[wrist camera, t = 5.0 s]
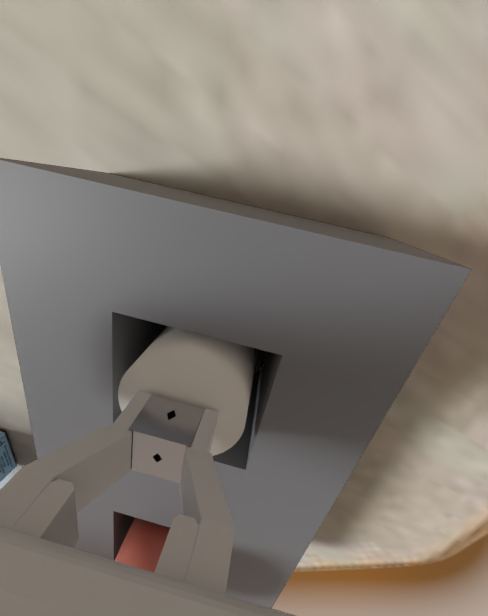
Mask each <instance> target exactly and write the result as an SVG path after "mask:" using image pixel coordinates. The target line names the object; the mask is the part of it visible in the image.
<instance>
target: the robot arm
mask: <svg viewBox="0 0 488 616" xmlns="http://www.w3.org/2000/svg"><path fill="white" fill-rule="evenodd" d="M218 417H219V412H218V411H214V410H211V409H207V408H203V407H199V406H195V405H192V404H188V403H184V402H179V401H175V400H172V399H169V398H165V397H162V396H159V395H155V394H151V393H148V392H144V391H141V390H140V391H139V392H137V393H136V394H135V396H134V397H133V398H132V399H131V401H130V402H129V403H128V405H127V406H126V407H125V409H124V410H123V411H122V413H121V414H120V415H119V417H118V418H117V419H116V421H115V422H114V423H113V424H112V426H111V425H106V426H104V427H102V428H100V429H98V430H95V431H93V432H91V433H89V434H87V435H85V436H83V437H81V438H79V439H77V440H75V441H73V442H71V443H69V444H67V445H65V446H63V447H61V448H59V449H57V450H55V451H53V452H51V453H49V454H47V455H45V456H43V457H41V458H39V459H37V460H35V461H33V462H31V463H29V464H27V465H25V466H23V467H22V468H21V469H20V470H19V471H18V472H17V473H16V474H15V475H14V476H13V477H12V479H11V480H10V481H9V482H8V483H7V484H6V485H5V486H4V487H3V488H2V489H1V490H0V616H295V615H292V614H288V613H285V612H282V611H279V610H275V609H272V608H269V607H266V606H262V605H259V604H256V603H252V602H249V601H246V600H242V599H239V598H236V597H233V596H229V595H226V587H227V580H228V573H229V567H230V560H231V553H232V546H233V539H234V533H235V527H234V524H233V521H232V518H231V514H230V511H229V508H228V505H227V502H226V498H225V495H224V492H223V489H222V486H221V482H220V479H219V476H218V473H217V470H216V466H215V463H214V460H213V457H212V454H211V453H210V450H211V446H212V442H213V438H214V434H215V429H216V425H217V421H218ZM130 470H134V471H138V472H142V473H146V474H150V475H154V476H157V477H160V478H163V479H166V480H170V481H173V482H176V483H179V487H180V494H181V501H182V509H183V515H181V514H179V515H178V516H176V517H175V518H174V519H173V522H172V524H171V527H170V530H169V533H168V536H167V538H166V541H165V544H164V547H163V550H162V552H161V555H160V558H159V561H158V564H157V566H156V569H155V572H150V571H147V570H144V569H140V568H137V567H134V566H130V565H127V564H124V563H121V562H117V561H114V560H111V559H107V558H104V557H101V556H98V555H94V554H91V553H88V552H84V551H81V550H78V549H74V546H75V545H76V543H77V541H78V540H79V532H78V522H77V513H78V512H79V511H81V510H82V509H83V508H85V507H86V506H87V505H88V504H90V503H91V502H92V501H93V500H95V499H96V498H97V497H99V496H100V495H101V494H102V493H104V492H105V491H106V490H107V489H109V488H110V487H111V486H113V485H114V484H115V483H116V482H118V481H119V480H120V479H121V478H123V477H124V476H125V475H127V474H128V473H129V472H130Z"/></svg>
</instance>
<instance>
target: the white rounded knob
mask: <svg viewBox="0 0 488 616" xmlns="http://www.w3.org/2000/svg"><path fill="white" fill-rule="evenodd" d="M257 353H258V349H256V348H252V347H248V346H244V345H240V344H236V343H232V342H228V341H224V340H220V339H217V338H213V337H209V336H205V335H201V334H197V333H193V332H189V331H185V330H181V329H177V328H174V327H170V326H167V327H166V328H165V329H164V330H163V331H162V333H161V334H160V335H159V336H158V337H157V338H156V339H155V340H154V341H153V343H152V344H151V345H150V346H149V347H148V348H147V349H146V350H145V351H144V352H143V354H142V355H141V356H140V357H139V358H138V359H137V360H136V361H135V362H134V364H133V365H132V366H131V367H130V368H129V369H128V370H127V371H126V373H125V374H124V375H123V377H122V379H121V381H120V385H119V389H118V400H119V405H120V409H121V411H123V410H124V409H125V407H126V406H127V405H128V403H129V402H130V401H131V399H132V398H133V397H134V396H135V394H136V393H137V392H139V391H140V390H141V391H144V392H148V393H151V394H155V395H159V396H162V397H165V398H169V399H172V400H175V401H179V402H184V403H188V404H192V405H195V406H199V407H203V408H207V409H211V410H214V411H218V412H219V417H218V421H217V425H216V429H215V434H214V438H213V442H212V446H211V450H210V453H211V454H212V456H214V455H218V454H220V453H223V452H225V451H226V450H228V449H230V448H231V447H232V446H233V445H235V444H236V442H237V441H238V440H239V439H240V437H241V436H242V434H243V431H244V428H245V423H246V417H247V411H248V406H249V400H250V394H251V388H252V382H253V376H254V370H255V364H256V358H257Z"/></svg>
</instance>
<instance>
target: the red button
mask: <svg viewBox="0 0 488 616" xmlns="http://www.w3.org/2000/svg"><path fill="white" fill-rule="evenodd" d="M169 530H170V527H166V526H163V525H159V524H156V523H153V522H149V521H146V520H142V519H139V518H134V520H133V522H132V524H131V526H130V528H129V530H128V533H127V535H126V537H125V539H124V541H123V543H122V545H121V548H120V550H119V552H118V554H117V556H116V558H115V560H114V561H117V562H121V563H124V564H127V565H130V566H134V567H137V568H140V569H144V570H147V571H150V572H155V569H156V566H157V564H158V561H159V558H160V555H161V552H162V550H163V547H164V544H165V541H166V538H167V536H168V533H169Z"/></svg>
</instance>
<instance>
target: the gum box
mask: <svg viewBox="0 0 488 616" xmlns="http://www.w3.org/2000/svg"><path fill="white" fill-rule="evenodd" d="M16 466H17V465H16V463H15V460H14V458H13V454H12V451H11V448H10V445H9V442H8V440H7V436H6V433H5V432H3V431H0V482H1V481H2V480H3V479H4V478H5V477H6V476H7V475H8V474H9V473H10V472H11V471H12V470H13V469H14V468H15V467H16Z"/></svg>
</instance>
